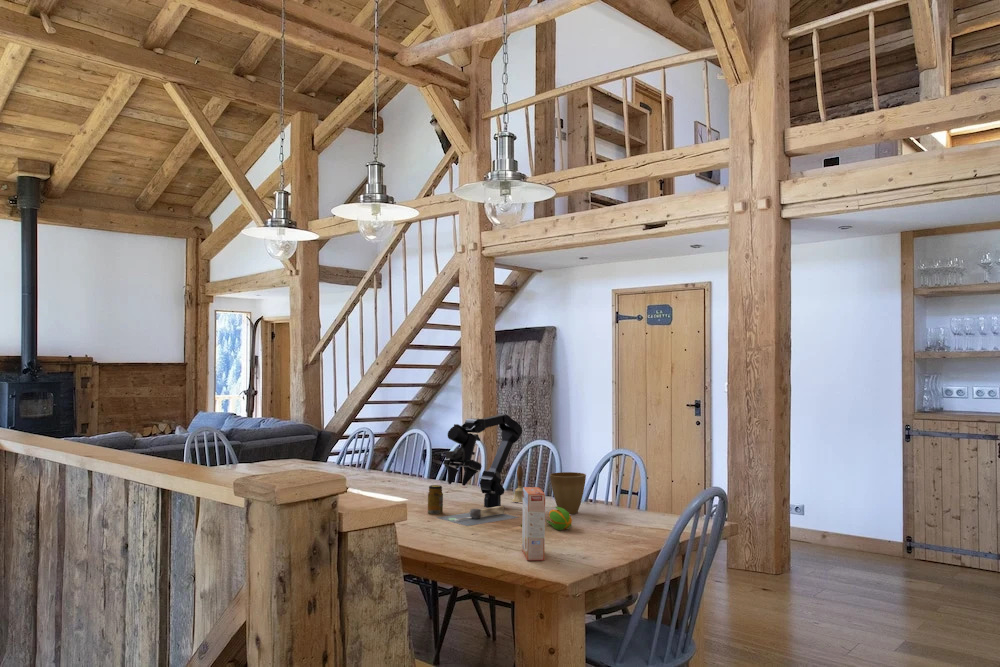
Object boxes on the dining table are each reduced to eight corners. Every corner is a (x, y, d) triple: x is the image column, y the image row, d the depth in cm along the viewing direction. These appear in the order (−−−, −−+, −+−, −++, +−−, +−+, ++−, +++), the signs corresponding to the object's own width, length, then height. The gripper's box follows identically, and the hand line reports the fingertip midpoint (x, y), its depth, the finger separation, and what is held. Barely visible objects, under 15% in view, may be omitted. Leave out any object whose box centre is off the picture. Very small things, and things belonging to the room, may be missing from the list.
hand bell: (508, 502, 336) (508, 466, 337) (514, 499, 344) (514, 464, 345) (526, 504, 333) (526, 467, 334) (531, 500, 341) (531, 465, 342)
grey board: (487, 512, 314) (487, 509, 314) (519, 519, 299) (519, 517, 299) (436, 520, 297) (436, 517, 297) (467, 528, 282) (467, 525, 282)
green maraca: (557, 511, 276) (541, 502, 295) (556, 532, 275) (540, 521, 295) (576, 512, 278) (559, 502, 297) (575, 533, 277) (558, 522, 296)
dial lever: (499, 512, 306) (499, 504, 307) (505, 514, 303) (506, 506, 303) (451, 520, 291) (451, 512, 291) (458, 522, 288) (458, 513, 288)
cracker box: (545, 561, 236) (545, 493, 236) (526, 561, 235) (526, 493, 236) (539, 550, 250) (540, 486, 250) (521, 550, 249) (521, 486, 250)
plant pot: (587, 510, 319) (587, 472, 320) (584, 517, 304) (584, 477, 305) (551, 509, 322) (551, 471, 322) (547, 515, 307) (548, 476, 308)
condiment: (437, 513, 311) (437, 484, 312) (449, 516, 305) (449, 486, 305) (422, 515, 307) (422, 485, 307) (434, 518, 300) (434, 488, 301)
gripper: (438, 440, 314) (427, 477, 309) (466, 441, 300) (455, 479, 295) (458, 449, 320) (448, 485, 315) (486, 450, 306) (476, 488, 301)
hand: (456, 484), depth 306 cm, fingers open, 9 cm apart
